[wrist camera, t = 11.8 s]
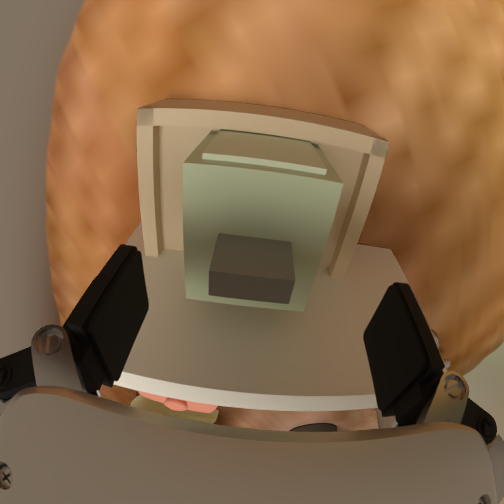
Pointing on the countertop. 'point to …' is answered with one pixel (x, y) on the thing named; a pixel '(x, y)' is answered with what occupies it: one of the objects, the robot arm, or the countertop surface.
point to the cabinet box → (256, 218)
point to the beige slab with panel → (245, 317)
